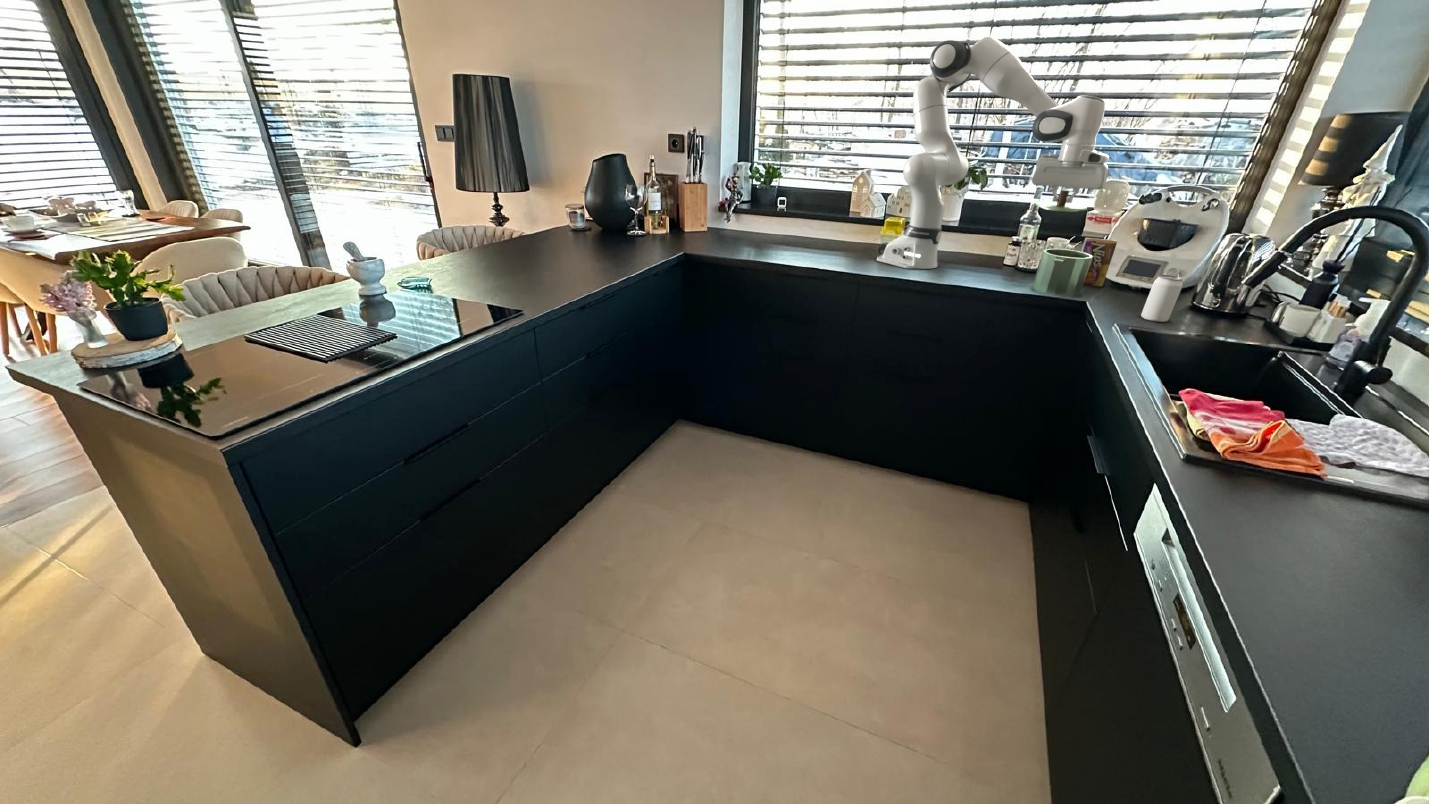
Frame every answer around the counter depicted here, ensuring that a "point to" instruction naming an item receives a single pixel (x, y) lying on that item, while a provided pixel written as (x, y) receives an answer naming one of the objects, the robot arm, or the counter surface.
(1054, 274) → the pot
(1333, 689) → the counter surface
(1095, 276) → the candy box
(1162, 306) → the can
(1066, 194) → the lid
